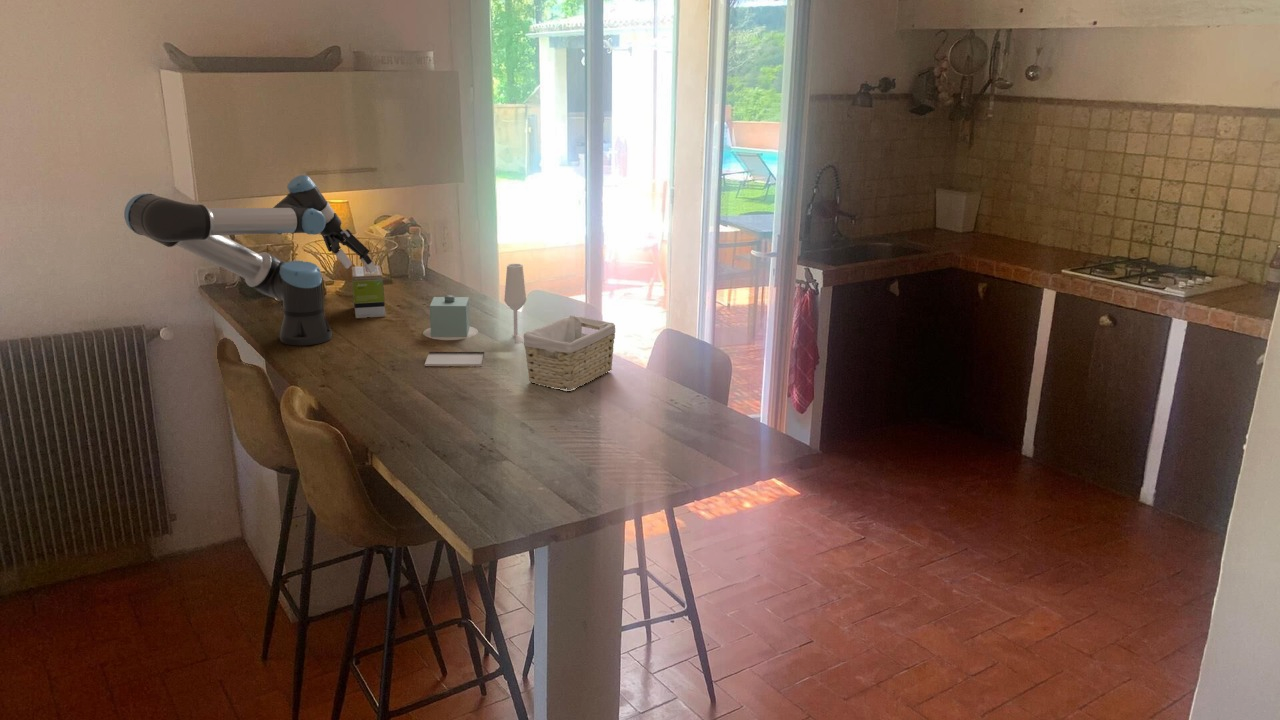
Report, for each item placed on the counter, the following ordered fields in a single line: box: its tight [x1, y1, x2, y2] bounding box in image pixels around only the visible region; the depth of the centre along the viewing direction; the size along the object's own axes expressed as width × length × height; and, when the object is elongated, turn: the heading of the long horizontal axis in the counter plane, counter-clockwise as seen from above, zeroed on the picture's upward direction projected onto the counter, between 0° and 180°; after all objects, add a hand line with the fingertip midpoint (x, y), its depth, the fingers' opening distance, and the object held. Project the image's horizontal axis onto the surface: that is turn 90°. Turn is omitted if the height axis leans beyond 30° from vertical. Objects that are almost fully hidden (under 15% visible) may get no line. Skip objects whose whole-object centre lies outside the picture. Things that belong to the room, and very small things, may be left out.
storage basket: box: [523, 315, 616, 390], centre depth 263 cm, size 24×16×15 cm
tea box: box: [350, 265, 386, 319], centre depth 322 cm, size 15×10×15 cm, turn 18°
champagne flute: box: [503, 263, 527, 344], centre depth 294 cm, size 7×7×24 cm
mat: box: [424, 351, 485, 368], centre depth 279 cm, size 16×16×1 cm
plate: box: [422, 326, 479, 341], centre depth 299 cm, size 17×17×5 cm
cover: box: [429, 294, 471, 337], centre depth 297 cm, size 11×11×12 cm
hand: (361, 268), depth 316 cm, fingers open, 13 cm apart
